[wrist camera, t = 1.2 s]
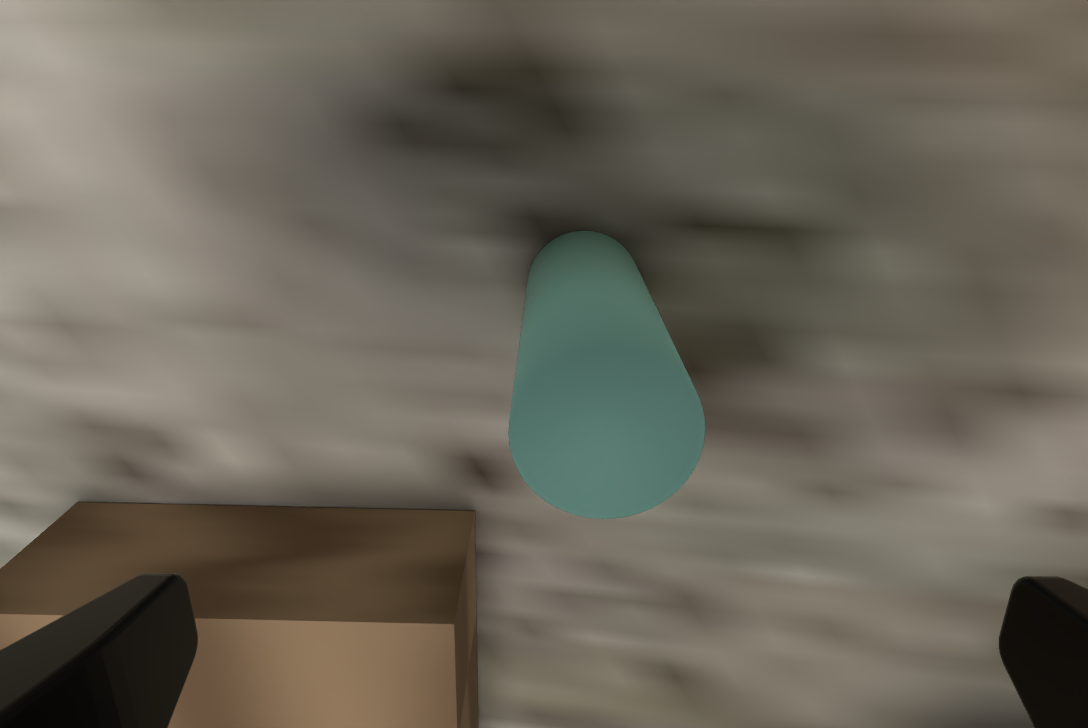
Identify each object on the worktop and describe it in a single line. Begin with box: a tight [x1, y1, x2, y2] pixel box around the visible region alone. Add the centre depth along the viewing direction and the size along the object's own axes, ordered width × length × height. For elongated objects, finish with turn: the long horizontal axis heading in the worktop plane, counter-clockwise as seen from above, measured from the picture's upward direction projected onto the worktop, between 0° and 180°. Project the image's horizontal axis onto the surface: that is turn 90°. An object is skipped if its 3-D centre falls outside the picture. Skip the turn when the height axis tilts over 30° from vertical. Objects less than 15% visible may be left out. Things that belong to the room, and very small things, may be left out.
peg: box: [508, 231, 705, 519], centre depth 15 cm, size 3×3×9 cm
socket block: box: [0, 502, 479, 728], centre depth 22 cm, size 12×12×5 cm
